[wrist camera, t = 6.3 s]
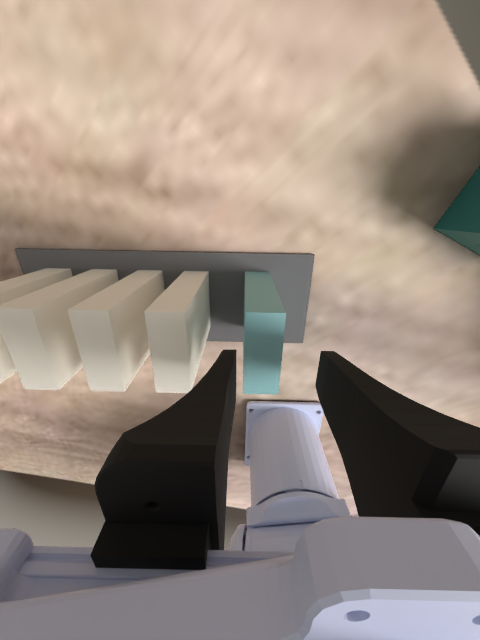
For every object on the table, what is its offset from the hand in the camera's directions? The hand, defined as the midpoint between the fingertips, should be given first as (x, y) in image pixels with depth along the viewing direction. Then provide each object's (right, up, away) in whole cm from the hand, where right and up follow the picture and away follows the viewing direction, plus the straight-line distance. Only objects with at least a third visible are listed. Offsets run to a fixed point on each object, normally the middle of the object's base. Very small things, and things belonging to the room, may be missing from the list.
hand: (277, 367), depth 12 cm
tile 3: (-9, +4, +9) cm, 14 cm away
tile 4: (-13, +4, +9) cm, 17 cm away
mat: (-8, +4, +10) cm, 13 cm away
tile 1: (0, +4, +9) cm, 10 cm away
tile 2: (-5, +4, +9) cm, 12 cm away
